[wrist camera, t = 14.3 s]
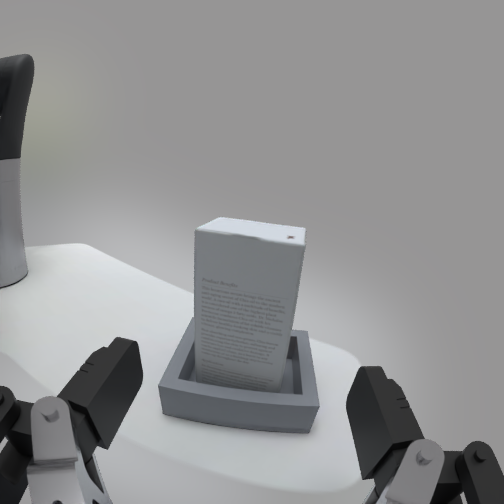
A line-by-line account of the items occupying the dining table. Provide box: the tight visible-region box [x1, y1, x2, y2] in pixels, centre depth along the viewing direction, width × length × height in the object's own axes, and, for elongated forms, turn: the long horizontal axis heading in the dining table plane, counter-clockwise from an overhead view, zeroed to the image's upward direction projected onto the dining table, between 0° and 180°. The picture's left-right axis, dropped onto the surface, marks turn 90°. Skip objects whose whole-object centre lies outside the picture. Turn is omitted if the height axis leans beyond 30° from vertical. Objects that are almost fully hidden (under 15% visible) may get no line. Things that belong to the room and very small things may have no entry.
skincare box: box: [194, 217, 306, 393], centre depth 18 cm, size 6×4×12 cm
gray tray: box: [158, 317, 320, 433], centre depth 20 cm, size 10×9×3 cm
